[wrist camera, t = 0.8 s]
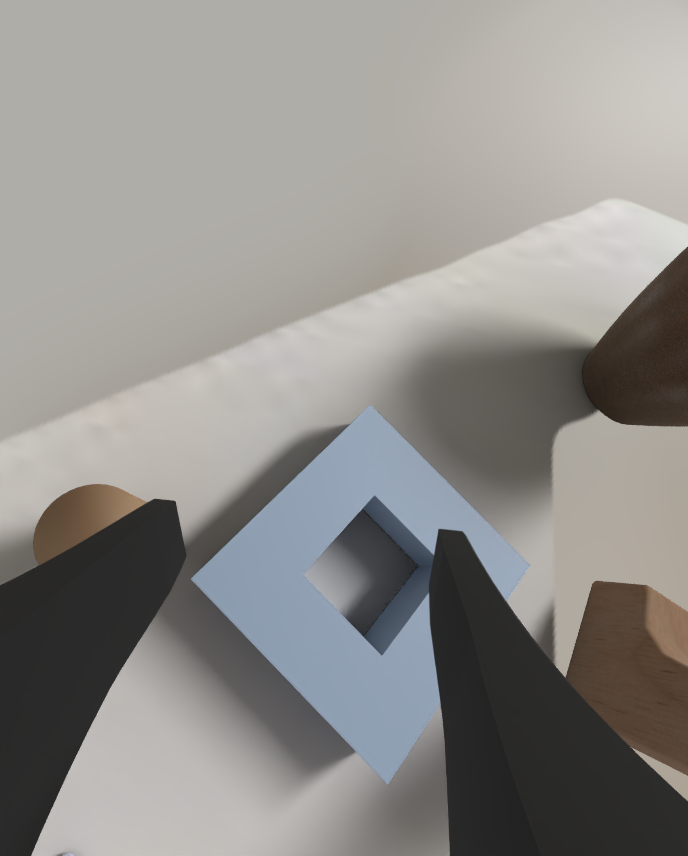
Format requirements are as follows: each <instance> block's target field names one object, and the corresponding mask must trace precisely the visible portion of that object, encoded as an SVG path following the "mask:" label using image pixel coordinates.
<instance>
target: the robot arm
mask: <svg viewBox="0 0 688 856" xmlns="http://www.w3.org/2000/svg"><path fill="white" fill-rule="evenodd" d="M185 558H186V552H185V547H184V542H183V537H182V532H181V527H180V522H179V517H178V512H177V507H176V502H175V501H171V500H162V499H153V500H151V501H150V502H148V503H146V504H144V505H142V506H141V507H139V508H137V509H135V510H134V511H132V512H130V513H129V514H127V515H125V516H124V517H122V518H120V519H119V520H117V521H115V522H114V523H112V524H110V525H109V526H107V527H105V528H104V529H102V530H100V531H99V532H97V533H95V534H94V535H92V536H90V537H89V538H87V539H85V540H84V541H82V542H80V543H79V544H77V545H75V546H73V547H72V548H70V549H68V550H66V551H64V552H63V553H61V554H59V555H57V556H55V557H54V558H52V559H50V560H48V561H46V562H45V563H43V564H41V565H39V566H37V567H36V568H34V569H32V570H30V571H28V572H26V573H24V574H22V575H20V576H18V577H16V578H14V579H12V580H10V581H8V582H6V583H4V584H2V585H0V856H31V855H32V852H33V850H34V848H35V845H36V843H37V840H38V838H39V836H40V833H41V831H42V829H43V826H44V824H45V822H46V820H47V818H48V815H49V813H50V811H51V809H52V807H53V804H54V802H55V800H56V798H57V796H58V793H59V791H60V789H61V787H62V784H63V782H64V780H65V778H66V776H67V774H68V771H69V769H70V767H71V765H72V763H73V761H74V759H75V757H76V755H77V753H78V751H79V749H80V747H81V745H82V743H83V741H84V738H85V736H86V734H87V732H88V730H89V728H90V726H91V724H92V722H93V720H94V718H95V717H96V715H97V713H98V711H99V709H100V707H101V705H102V703H103V701H104V699H105V697H106V695H107V693H108V691H109V689H110V687H111V686H112V684H113V682H114V681H115V679H116V677H117V675H118V674H119V672H120V670H121V669H122V667H123V665H124V664H125V662H126V661H127V659H128V658H129V656H130V654H131V653H132V651H133V650H134V648H135V647H136V645H137V643H138V642H139V640H140V639H141V637H142V635H143V634H144V632H145V631H146V629H147V628H148V626H149V624H150V623H151V621H152V620H153V618H154V617H155V615H156V613H157V612H158V610H159V608H160V607H161V605H162V604H163V602H164V600H165V599H166V597H167V595H168V594H169V592H170V590H171V588H172V586H173V584H174V582H175V580H176V578H177V576H178V574H179V572H180V569H181V567H182V565H183V563H184V560H185ZM429 613H430V629H431V637H432V644H433V652H434V659H435V666H436V674H437V681H438V688H439V696H440V703H441V710H442V718H443V728H444V738H445V755H446V775H447V795H448V818H449V841H450V856H688V801H687V800H686V799H685V798H683V797H682V796H681V795H680V794H679V793H678V792H677V791H676V790H675V789H674V788H673V787H672V786H670V785H669V784H668V783H667V782H666V781H665V780H664V779H663V778H662V777H661V776H660V775H659V774H658V773H657V772H656V771H655V770H654V769H653V768H651V767H650V766H649V765H648V764H647V763H646V762H645V761H644V760H643V759H642V758H641V757H640V756H639V755H638V754H637V753H635V751H634V750H633V749H632V748H631V747H630V746H629V745H628V744H627V743H626V742H625V741H624V740H623V739H622V738H621V737H620V736H619V735H618V734H617V733H616V732H615V731H614V730H613V729H612V728H611V727H610V726H609V725H608V724H607V723H606V722H605V721H604V720H603V718H602V717H601V716H600V715H599V714H598V713H597V712H596V711H595V710H594V709H593V708H592V707H591V706H590V705H589V704H588V703H587V702H586V701H585V700H584V698H583V697H582V696H581V695H580V694H579V693H578V692H577V691H576V689H575V688H574V687H573V686H572V685H571V684H570V683H569V682H568V681H567V679H566V678H565V677H564V676H563V675H562V673H561V672H560V671H559V670H558V669H557V668H556V666H555V665H554V664H553V663H552V662H551V660H550V659H549V658H548V657H547V656H546V654H545V653H544V652H543V651H542V649H541V648H540V647H539V645H538V644H537V643H536V642H535V640H534V639H533V638H532V636H531V635H530V634H529V632H528V631H527V630H526V628H525V627H524V626H523V624H522V623H521V622H520V620H519V619H518V618H517V616H516V615H515V613H514V612H513V610H512V609H511V608H510V606H509V605H508V603H507V602H506V600H505V599H504V597H503V596H502V594H501V593H500V591H499V590H498V588H497V587H496V585H495V584H494V582H493V581H492V579H491V577H490V576H489V574H488V573H487V571H486V569H485V568H484V566H483V564H482V563H481V561H480V559H479V558H478V556H477V554H476V552H475V551H474V549H473V547H472V545H471V543H470V542H469V540H468V538H467V536H466V535H465V533H464V532H463V531H457V530H447V529H438V535H437V540H436V546H435V552H434V558H433V564H432V569H431V575H430V581H429ZM62 856H75V855H73V854H70V853H67V854H64V855H62Z"/></svg>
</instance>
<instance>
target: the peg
mask: <svg viewBox="0 0 688 856" xmlns="http://www.w3.org/2000/svg"><path fill="white" fill-rule="evenodd" d="M146 503H147V502H145V501H143V500H141V499H139V498H137V497H135V496H133V495H131V494H129V493H127V492H125V491H123V490H121V489H119V488H117V487H114V486H109V485H102V484H93V485H86V486H82V487H78V488H75V489H73V490H70V491H68V492H67V493H65V494H63V495H62V496H60V497H59V498H57V499H56V500H55V501H54V502H53V503H51V505H50V506H49V507H48V508H47V509H46V510H45V512H44V513H43V514H42V516H41V518H40V520H39V521H38V524H37V526H36V529H35V533H34V541H33V544H34V553H35V556H36V559H37V562H38V563H39V565H41V564H43V563H45V562H46V561H48V560H50V559H52V558H54V557H55V556H57V555H59V554H61V553H63V552H64V551H66V550H68V549H70V548H72V547H73V546H75V545H77V544H79V543H80V542H82V541H84V540H85V539H87V538H89V537H90V536H92V535H94V534H95V533H97V532H99V531H100V530H102V529H104V528H105V527H107V526H109V525H110V524H112V523H114V522H115V521H117V520H119V519H120V518H122V517H124V516H125V515H127V514H129V513H130V512H132V511H134V510H135V509H137V508H139V507H141V506H142V505H144V504H146Z"/></svg>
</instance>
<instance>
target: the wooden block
mask: <svg viewBox="0 0 688 856" xmlns="http://www.w3.org/2000/svg"><path fill="white" fill-rule="evenodd" d="M566 679H567V681H568V682H569V683H570V684H571V685H572V686H573V687H574V688H575V689H576V691H577V692H578V693H579V694H580V695H581V696H582V697H583V698H584V700H585V701H586V702H587V703H588V704H589V705H590V706H591V707H592V708H593V709H594V710H595V711H596V712H597V713H598V714H599V715H600V716H601V717H602V718H603V720H604V721H605V722H606V723H607V724H608V725H609V726H610V727H611V728H612V729H613V730H614V731H615V732H616V733H617V734H618V735H619V736H620V737H621V738H622V739H623V740H624V741H625V742H626V743H627V744H628V745H629V746H630V747H632V748H634V749H636V750H638V751H640V752H642V753H644V754H646V755H648V756H650V757H652V758H654V759H656V760H658V761H660V762H662V763H664V764H666V765H668V766H670V767H672V768H674V769H676V770H678V771H680V772H682V773H684V774H686V775H688V612H687V611H686V610H684V609H683V608H681V607H679V606H678V605H677V604H675V603H673V602H672V601H670V600H669V599H667V598H666V597H664V596H663V595H661V594H660V593H658V592H657V591H655V590H653V589H652V588H651V587H649V586H647V585H637V584H626V583H614V582H603V581H595V582H594V583H593V584H592V587H591V591H590V594H589V598H588V601H587V605H586V608H585V612H584V615H583V619H582V622H581V626H580V629H579V633H578V637H577V640H576V643H575V647H574V650H573V654H572V658H571V661H570V664H569V668H568V671H567V675H566Z"/></svg>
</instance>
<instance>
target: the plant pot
mask: <svg viewBox="0 0 688 856" xmlns="http://www.w3.org/2000/svg"><path fill="white" fill-rule="evenodd" d="M583 381H584V385H585V389H586V391H587V393H588V395H589V397H590V399H591V400H592V402H593V403H594V405H595V406H596V407H597V408H598V409H599V410H600V411H601V412H602V413H603V414H604V415H605V416H607V417H608V418H610V419H611V420H613V421H616V422H619V423H621V424H627V425H645V426H688V247H687V248H686V249H685V250H684V251H682V252H681V253H680V254H679V255H678V256H677V257H676V258H675V259H674V260H673V261H672V262H671V263H670V264H669V265H668V266H667V267H666V268H665V269H664V270H663V271H662V272H661V273H660V274H659V275H658V276H657V277H656V278H655V279H654V280H653V281H652V282H651V283H650V284H649V285H648V286H647V287H646V288H645V289H644V290H643V291H642V292H641V293H640V294H639V295H638V296H637V298H636V299H635V300H634V301H633V302H632V303H631V304H630V305H629V306H628V307H627V309H626V310H625V311H624V312H623V313H622V314H621V315H620V316H619V318H618V319H617V320H616V321H615V322H614V324H613V325H612V326H611V327H610V328H609V330H608V331H607V332H606V333H605V335H604V336H603V337H602V338H601V340H600V341H599V342H598V343H597V345H596V346H595V347H594V349H593V350H592V352H591V353H590V354H589V356H588V357H587V359H586V361H585V363H584V366H583Z"/></svg>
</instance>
